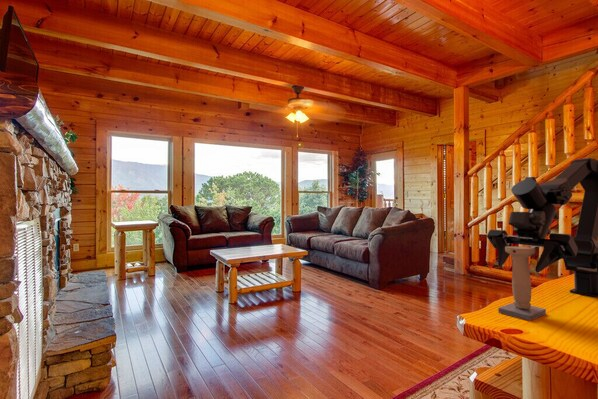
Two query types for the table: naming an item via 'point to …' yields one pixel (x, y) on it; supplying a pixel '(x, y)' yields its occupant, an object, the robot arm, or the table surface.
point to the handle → (521, 275)
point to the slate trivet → (522, 312)
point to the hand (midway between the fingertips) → (517, 268)
